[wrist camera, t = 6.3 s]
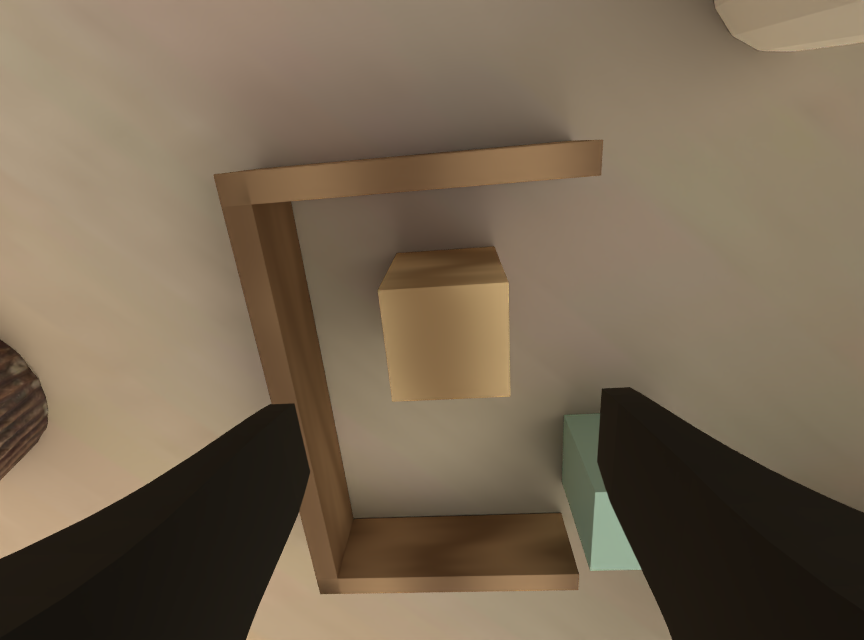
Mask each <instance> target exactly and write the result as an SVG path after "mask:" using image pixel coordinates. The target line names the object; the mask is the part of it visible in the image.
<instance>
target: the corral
mask: <svg viewBox="0 0 864 640" xmlns="http://www.w3.org/2000/svg"><path fill="white" fill-rule="evenodd" d="M602 150H603V140H580V141H564V142H553V143H542V144H531V145H519V146H508V147H497V148H486V149H475V150H463V151H452V152H441V153H430V154H419V155H408V156H396V157H385V158H374V159H363V160H352V161H340V162H329V163H318V164H307V165H296V166H285V167H273V168H262V169H253V170H246V171H238V172H230V173H222V174H214V179H215V183H216V187H217V191H218V195H219V199H220V203H221V207H222V211H223V214H224V218H225V222H226V226H227V230H228V234H229V238H230V242H231V246H232V250H233V254H234V258H235V261H236V265H237V269H238V273H239V277H240V281H241V285H242V289H243V293H244V297H245V301H246V305H247V308H248V312H249V316H250V320H251V324H252V328H253V332H254V336H255V340H256V344H257V348H258V352H259V355H260V359H261V363H262V367H263V371H264V375H265V379H266V383H267V387H268V391H269V395H270V399H271V402H272V404H289V403H295V408H296V412H297V416H298V421H299V425H300V429H301V434H302V438H303V442H304V447H305V451H306V455H307V460H308V464H309V468H310V475H309V479H308V483H307V486H306V490H305V494H304V497H303V501H302V504H301V507H300V511H299V512H300V516H301V520H302V524H303V528H304V532H305V536H306V540H307V543H308V547H309V551H310V555H311V559H312V563H313V567H314V571H315V575H316V579H317V583H318V587H319V590H320V594H354V593H417V592H479V591H542V590H578V584H579V572H578V569H577V566H576V562H575V559H574V555H573V552H572V549H571V545H570V542H569V538H568V535H567V531H566V528H565V525H564V521H563V518H562V514H561V513H545V514H510V515H475V516H440V517H405V518H370V519H353V514H352V509H351V504H350V499H349V494H348V489H347V484H346V478H345V473H344V468H343V463H342V458H341V453H340V448H339V443H338V438H337V433H336V428H335V423H334V418H333V413H332V408H331V403H330V397H329V392H328V387H327V382H326V377H325V372H324V367H323V362H322V357H321V352H320V347H319V342H318V337H317V332H316V327H315V321H314V316H313V311H312V306H311V301H310V296H309V291H308V286H307V281H306V276H305V271H304V266H303V261H302V256H301V251H300V246H299V240H298V235H297V230H296V225H295V220H294V215H293V210H292V205H291V201H300V200H312V199H324V198H336V197H348V196H360V195H372V194H384V193H396V192H408V191H420V190H432V189H444V188H456V187H468V186H480V185H492V184H503V183H515V182H527V181H539V180H551V179H563V178H575V177H587V176H599V175H601V168H602Z"/></svg>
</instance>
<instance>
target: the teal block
mask: <svg viewBox="0 0 864 640" xmlns="http://www.w3.org/2000/svg"><path fill="white" fill-rule="evenodd" d="M599 425H600V413H596V414H575V415H564V429H563V463H562V484H563V487H564V490H565V493H566V496H567V499H568V503H569V506H570V509H571V512H572V515H573V518H574V521H575V524H576V528H577V531H578V534H579V537H580V540H581V543H582V546H583V549H584V553H585V556H586V559H587V562H588V565H589V568H590V571H597V570H642V569H641V567H640V565H639V563H638V561H637V559H636V557H635V555H634V553H633V550H632V548H631V546H630V544H629V542H628V540H627V538H626V536H625V534H624V531H623V529H622V527H621V525H620V523H619V521H618V518H617V516H616V514H615V512H614V510H613V508H612V505H611V503H610V500H609V498H608V495H607V492H606V489H605V486H604V483H603V479H602V476H601V473H600V470H599V466H598V463H597V455H598V440H599Z"/></svg>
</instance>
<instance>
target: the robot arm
mask: <svg viewBox="0 0 864 640" xmlns="http://www.w3.org/2000/svg"><path fill="white" fill-rule="evenodd" d="M597 463H598V466H599V470H600V473H601V476H602V479H603V483H604V486H605V489H606V492H607V495H608V498H609V500H610V503H611V505H612V508H613V510H614V512H615V514H616V516H617V518H618V521H619V523H620V525H621V527H622V529H623V531H624V534H625V536H626V538H627V540H628V542H629V544H630V546H631V548H632V550H633V553H634V555H635V557H636V559H637V561H638V563H639V565H640V567H641V569H642V571H643V574H644V576H645V578H646V580H647V582H648V584H649V586H650V588H651V590H652V593H653V595H654V597H655V599H656V601H657V603H658V606H659V608H660V610H661V613H662V615H663V617H664V620H665V622H666V624H667V627H668V629H669V632H670V635H671V637H672V640H864V513H863V512H860V511H858V510H856V509H853V508H851V507H849V506H846V505H844V504H842V503H840V502H837V501H835V500H833V499H830V498H828V497H826V496H824V495H822V494H820V493H818V492H815V491H813V490H811V489H809V488H807V487H805V486H803V485H801V484H798V483H796V482H794V481H792V480H790V479H788V478H786V477H784V476H782V475H780V474H778V473H776V472H774V471H772V470H770V469H768V468H766V467H764V466H762V465H760V464H759V463H757V462H755V461H753V460H751V459H749V458H748V457H746V456H744V455H742V454H740V453H738V452H737V451H735V450H733V449H731V448H729V447H728V446H726V445H724V444H722V443H721V442H719V441H717V440H715V439H714V438H712V437H710V436H709V435H707V434H705V433H704V432H702V431H700V430H699V429H697V428H695V427H694V426H692V425H691V424H689V423H687V422H686V421H684V420H682V419H681V418H679V417H678V416H676V415H674V414H673V413H671V412H670V411H668V410H667V409H665V408H663V407H662V406H660V405H659V404H657V403H655V402H654V401H652V400H651V399H649V398H647V397H646V396H644V395H642V394H641V393H639V392H637V391H635V390H634V389H632V388H630V387H627V388H606V389H602V395H601V410H600V425H599V440H598V455H597ZM309 475H310V468H309V464H308V460H307V455H306V451H305V447H304V442H303V438H302V434H301V429H300V425H299V421H298V416H297V412H296V408H295V403H289V404H270V405H268V406H266V407H264V408H263V409H261V410H259V411H258V412H256V413H255V414H253V415H251V416H250V417H248V418H247V419H245V420H244V421H242V422H241V423H240V424H238V425H237V426H235V427H234V428H232V429H231V430H229V431H228V432H226V433H225V434H223V435H222V436H221V437H219V438H218V439H216V440H215V441H213V442H212V443H210V444H209V445H207V446H206V447H204V448H203V449H201V450H200V451H198V452H197V453H195V454H194V455H192V456H191V457H189V458H188V459H186V460H185V461H183V462H181V463H180V464H178V465H177V466H175V467H174V468H172V469H170V470H169V471H167V472H166V473H164V474H163V475H161V476H159V477H158V478H156V479H155V480H153V481H152V482H150V483H148V484H147V485H145V486H143V487H142V488H140V489H138V490H136V491H135V492H133V493H131V494H129V495H128V496H126V497H124V498H123V499H121V500H119V501H117V502H115V503H113V504H111V505H110V506H108V507H106V508H104V509H102V510H100V511H99V512H97V513H95V514H93V515H91V516H89V517H87V518H85V519H83V520H81V521H79V522H77V523H75V524H73V525H71V526H69V527H67V528H65V529H63V530H61V531H59V532H57V533H55V534H52V535H50V536H48V537H46V538H44V539H42V540H40V541H38V542H36V543H34V544H32V545H30V546H27V547H25V548H23V549H21V550H19V551H17V552H15V553H12V554H10V555H8V556H6V557H3V558H1V559H0V640H246V638H247V635H248V632H249V629H250V627H251V624H252V621H253V619H254V616H255V614H256V611H257V609H258V606H259V604H260V601H261V599H262V597H263V595H264V592H265V590H266V588H267V585H268V583H269V581H270V579H271V576H272V574H273V572H274V569H275V567H276V565H277V562H278V560H279V558H280V556H281V553H282V551H283V549H284V546H285V544H286V542H287V539H288V537H289V535H290V532H291V530H292V528H293V525H294V523H295V521H296V518H297V516H298V513H299V511H300V507H301V504H302V501H303V497H304V494H305V490H306V486H307V483H308V479H309Z"/></svg>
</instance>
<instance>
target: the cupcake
mask: <svg viewBox="0 0 864 640" xmlns="http://www.w3.org/2000/svg"><path fill="white" fill-rule="evenodd" d="M47 415H48V407H47V401H46V397H45V394H44V392H43V389H42V387H41V384H40V381H39V379H38V378H37V377H36V376H35V375H34V374H33V373H32V371H31V370H30V368H29V367H28V365H27V364H26V362H25V361H24V359H23V358H22V357H21V356H20V355H19V354H18V353H17V352H16V351H15V350H14V349H13V348H11V347H10V346H8V345H7V344H6V343H4V342H3V341H1V340H0V480H1V479H2V478H3V477H4V476H5V475H6V474H7V473H8V472H9V471H10V470H11V469H12V468H13V467H14V466H15V465H16V464H17V463H18V462H19V461H20V460H21V459H22V458H23V457H24V456H25V455H26V454H27V453H28V452H29V450H30V449H31V448H32V447H33V446H34V445H35V444H36V443H37V442H38V440H39V439H40V437H41V435H42V433H43V432H44V430H45V429H46V428H47V423H48V418H47Z"/></svg>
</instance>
